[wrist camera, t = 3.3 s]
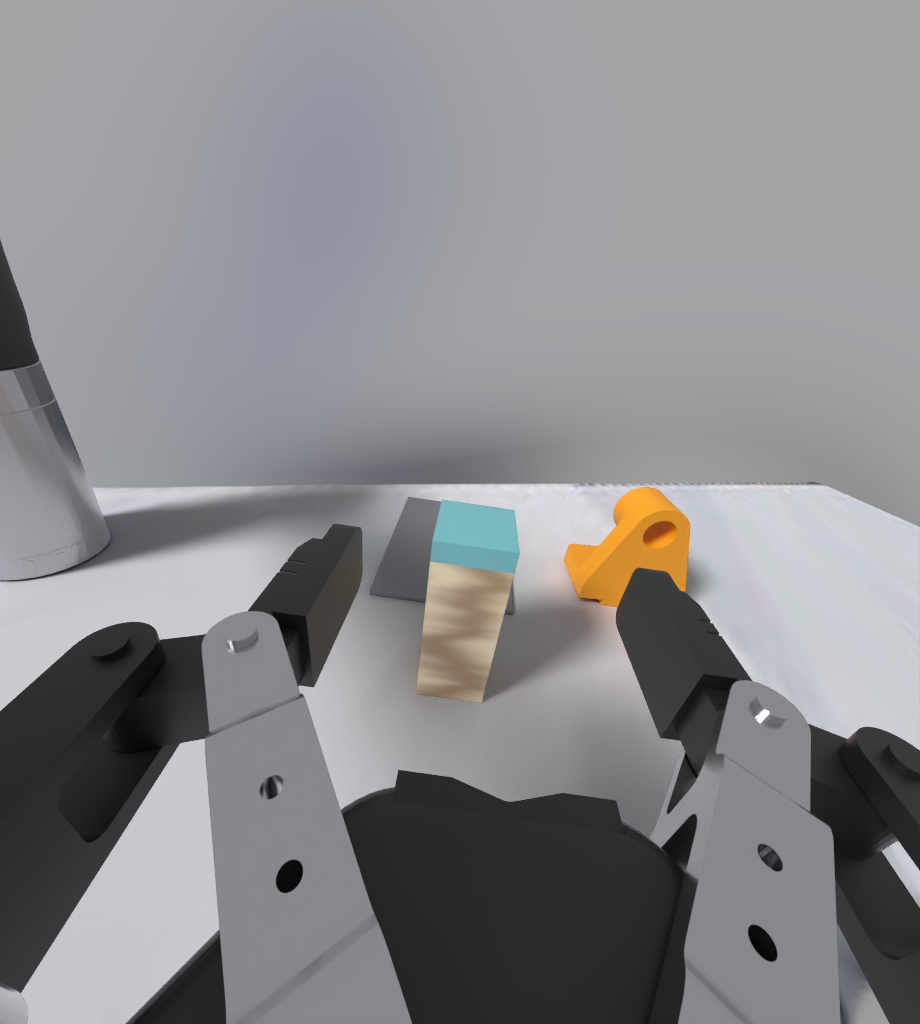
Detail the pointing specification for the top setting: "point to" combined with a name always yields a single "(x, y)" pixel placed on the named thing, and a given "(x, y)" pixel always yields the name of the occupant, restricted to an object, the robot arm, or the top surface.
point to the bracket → (632, 547)
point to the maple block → (466, 598)
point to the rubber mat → (411, 554)
